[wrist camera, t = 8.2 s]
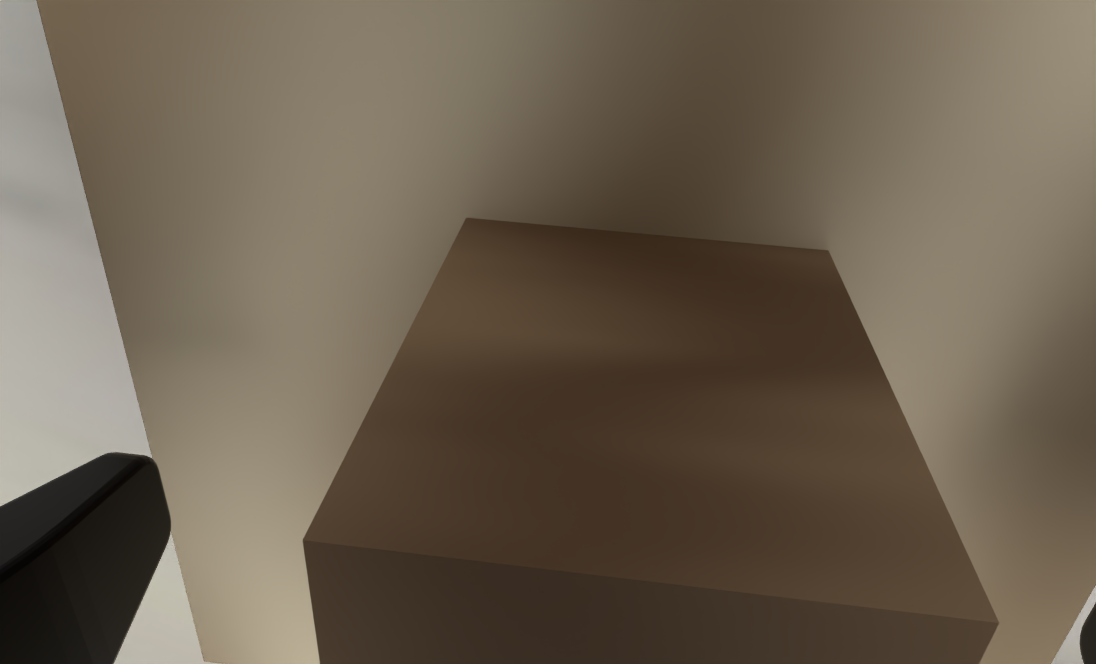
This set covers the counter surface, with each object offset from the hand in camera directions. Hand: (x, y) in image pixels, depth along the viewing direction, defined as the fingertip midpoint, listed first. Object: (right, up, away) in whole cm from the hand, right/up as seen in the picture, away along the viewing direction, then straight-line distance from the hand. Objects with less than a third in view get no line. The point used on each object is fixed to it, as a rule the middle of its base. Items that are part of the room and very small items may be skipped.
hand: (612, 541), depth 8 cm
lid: (0, +2, +3) cm, 4 cm away
